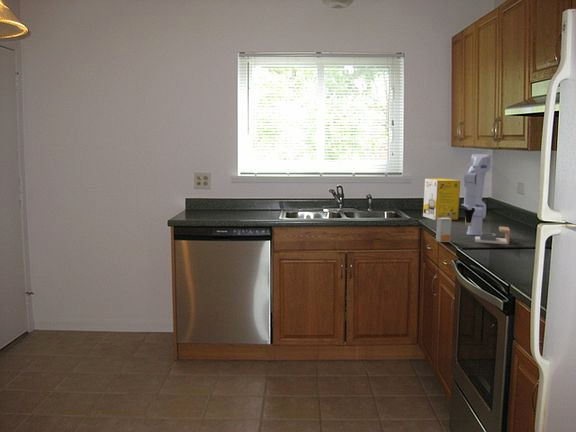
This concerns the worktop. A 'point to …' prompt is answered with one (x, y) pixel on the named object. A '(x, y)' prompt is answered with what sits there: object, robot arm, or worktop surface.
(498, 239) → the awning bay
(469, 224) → the peg
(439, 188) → the packaging box
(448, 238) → the skincare box
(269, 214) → the worktop surface
